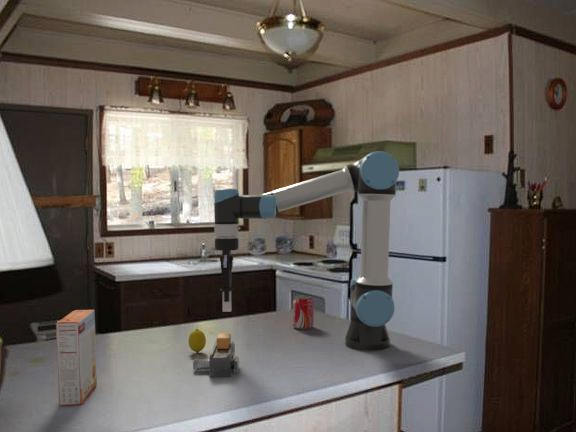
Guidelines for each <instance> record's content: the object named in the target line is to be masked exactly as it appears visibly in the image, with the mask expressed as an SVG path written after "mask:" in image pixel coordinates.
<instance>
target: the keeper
mask: <svg viewBox="0 0 576 432" xmlns="http://www.w3.org/2000/svg"><path fill="white" fill-rule="evenodd" d="M231 335H232V334H231V333H218V335H217V337H216V341H217V349H229V347H230V344H231V343H232V341H231V340H232V338H231V337H232V336H231Z"/></svg>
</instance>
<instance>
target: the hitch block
mask: <svg viewBox="0 0 576 432" xmlns="http://www.w3.org/2000/svg"><path fill="white" fill-rule="evenodd" d="M235 345H236V344H235V341H234V340H232V341H231V344H230V347H229V349H217V340H216V341H215V342H214V345H213V346H212V349H211V350H210V354H209V358H208V359H209V370H208V371H209V372H208V373H209V374H208V375H209V376H208V377H211V378H231V377H232V374H233V373H232V359H235V356H236V349H235V347H236V346H235Z"/></svg>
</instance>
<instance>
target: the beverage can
mask: <svg viewBox="0 0 576 432" xmlns="http://www.w3.org/2000/svg"><path fill="white" fill-rule="evenodd" d="M314 306H315V305H314V300H313V299H312V296H310V295H304V294H303V295H296V296H294V299H293V301H292V326H293V327H294V329H296V330H299V331H308V330H311V329H312V328H313V327H314V322H315V321H314V318H315V317H314V314H315V311H314Z"/></svg>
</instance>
